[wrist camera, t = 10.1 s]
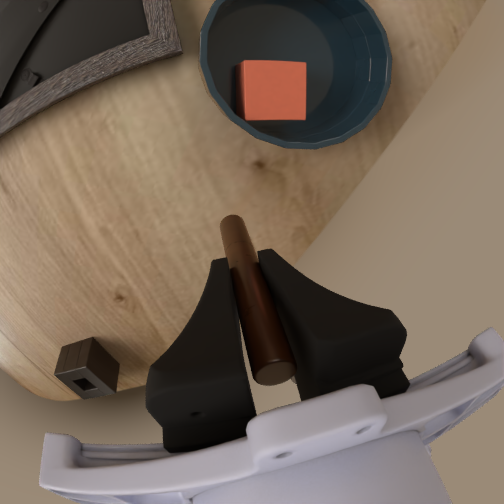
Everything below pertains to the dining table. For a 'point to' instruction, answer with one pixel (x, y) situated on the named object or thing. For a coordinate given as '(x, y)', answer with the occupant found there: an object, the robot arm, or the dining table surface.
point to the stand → (87, 369)
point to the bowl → (301, 50)
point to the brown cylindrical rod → (256, 308)
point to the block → (270, 90)
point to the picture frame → (74, 48)
